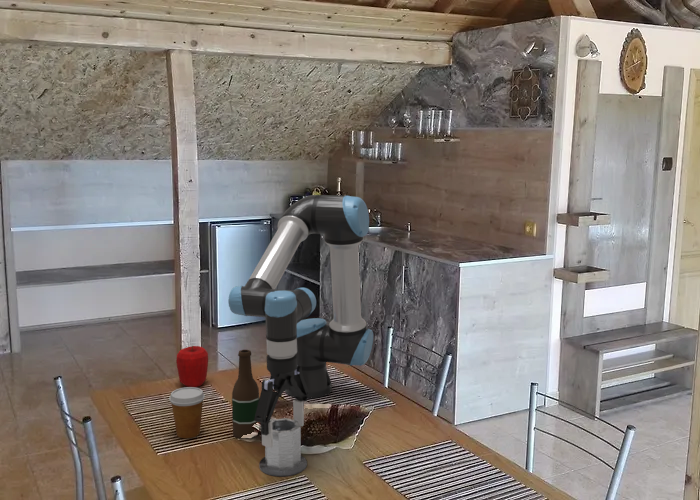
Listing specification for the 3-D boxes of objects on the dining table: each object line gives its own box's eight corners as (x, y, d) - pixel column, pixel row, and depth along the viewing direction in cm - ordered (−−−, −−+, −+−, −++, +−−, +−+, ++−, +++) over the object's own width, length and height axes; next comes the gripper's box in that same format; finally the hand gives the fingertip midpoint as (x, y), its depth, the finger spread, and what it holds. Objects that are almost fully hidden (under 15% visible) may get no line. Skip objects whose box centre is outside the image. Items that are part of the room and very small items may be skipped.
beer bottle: (265, 430, 199) (263, 348, 195) (252, 441, 191) (251, 356, 187) (240, 426, 201) (238, 345, 197) (227, 437, 194) (225, 353, 190)
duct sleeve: (306, 459, 180) (305, 422, 178) (287, 473, 172) (286, 435, 171) (279, 452, 184) (278, 416, 182) (259, 465, 176) (258, 427, 175)
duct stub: (294, 450, 186) (294, 419, 185) (315, 469, 176) (315, 436, 174) (251, 461, 180) (251, 429, 179) (271, 481, 170) (270, 447, 169)
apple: (184, 378, 239) (182, 340, 237) (213, 380, 238) (212, 341, 235) (172, 390, 229) (170, 349, 226) (202, 391, 227) (201, 351, 225)
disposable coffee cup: (197, 442, 191) (196, 400, 189) (164, 439, 192) (162, 397, 190) (211, 428, 200) (210, 387, 198) (179, 425, 202) (178, 385, 200)
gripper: (297, 338, 186) (298, 413, 190) (237, 367, 164) (240, 451, 168) (321, 342, 182) (322, 419, 186) (263, 372, 161) (266, 459, 165)
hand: (283, 434), depth 177 cm, fingers open, 13 cm apart
